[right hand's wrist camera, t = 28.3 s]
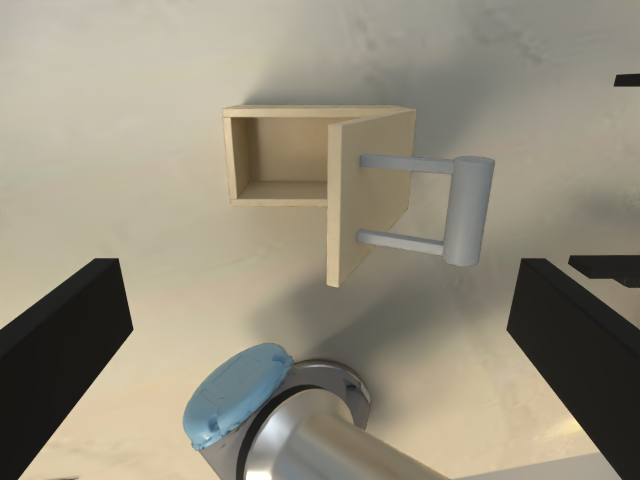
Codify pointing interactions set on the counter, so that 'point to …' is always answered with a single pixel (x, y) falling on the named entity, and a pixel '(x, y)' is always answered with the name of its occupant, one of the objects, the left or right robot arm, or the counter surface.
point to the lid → (395, 194)
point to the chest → (283, 151)
